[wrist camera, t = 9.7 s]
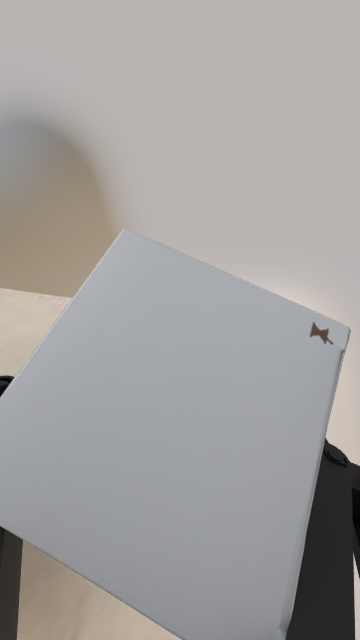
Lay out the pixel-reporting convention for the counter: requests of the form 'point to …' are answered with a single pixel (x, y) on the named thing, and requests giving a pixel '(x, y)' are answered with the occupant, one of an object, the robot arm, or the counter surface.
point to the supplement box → (174, 440)
